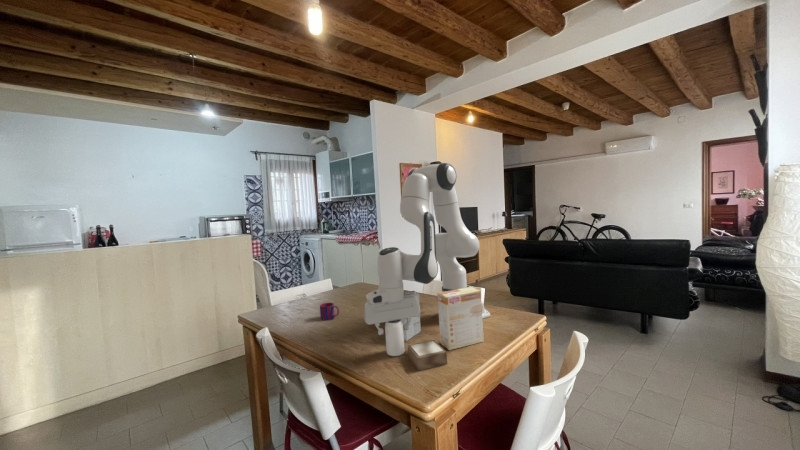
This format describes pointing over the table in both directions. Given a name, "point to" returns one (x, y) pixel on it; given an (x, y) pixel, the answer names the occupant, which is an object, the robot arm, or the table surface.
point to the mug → (327, 311)
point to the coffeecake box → (460, 317)
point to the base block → (427, 355)
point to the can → (394, 338)
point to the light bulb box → (411, 328)
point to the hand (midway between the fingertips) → (393, 332)
